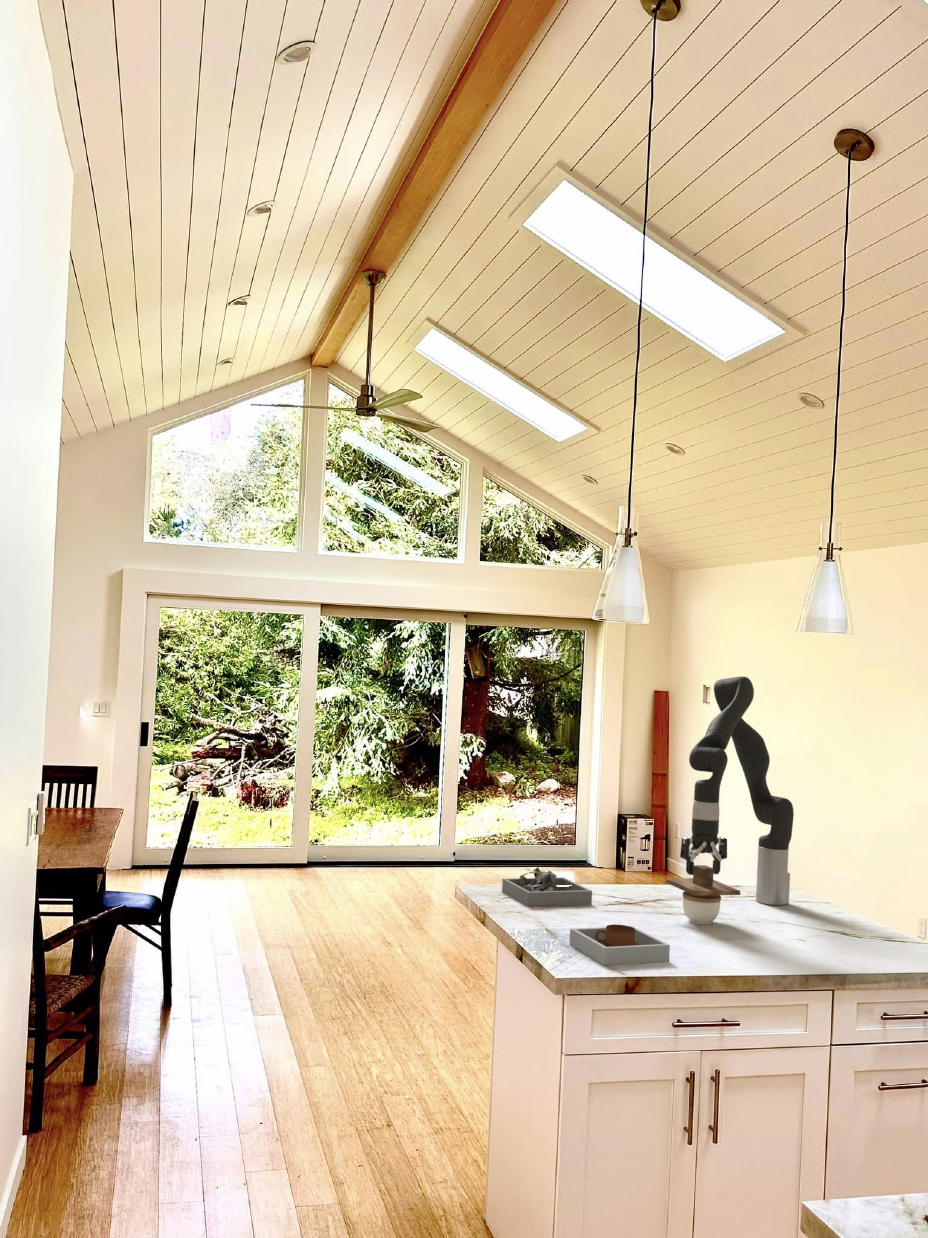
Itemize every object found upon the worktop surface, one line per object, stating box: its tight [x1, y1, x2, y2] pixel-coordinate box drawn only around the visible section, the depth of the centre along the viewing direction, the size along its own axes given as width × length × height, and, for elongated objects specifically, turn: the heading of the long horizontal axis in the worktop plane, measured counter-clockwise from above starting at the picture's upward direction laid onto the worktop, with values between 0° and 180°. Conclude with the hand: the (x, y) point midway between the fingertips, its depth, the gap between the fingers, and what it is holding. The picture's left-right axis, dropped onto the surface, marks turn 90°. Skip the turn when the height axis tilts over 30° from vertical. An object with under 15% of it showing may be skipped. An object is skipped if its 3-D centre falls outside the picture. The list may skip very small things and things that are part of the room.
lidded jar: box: [682, 891, 722, 925], centre depth 297 cm, size 11×11×9 cm
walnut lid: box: [665, 864, 741, 896], centre depth 298 cm, size 15×15×6 cm
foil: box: [518, 866, 557, 892], centre depth 317 cm, size 12×11×15 cm
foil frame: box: [501, 876, 593, 907], centre depth 316 cm, size 21×19×4 cm
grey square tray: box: [569, 925, 671, 966], centre depth 259 cm, size 18×18×4 cm
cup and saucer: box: [595, 924, 641, 947], centre depth 260 cm, size 12×12×6 cm
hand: (702, 874), depth 298 cm, fingers open, 8 cm apart
